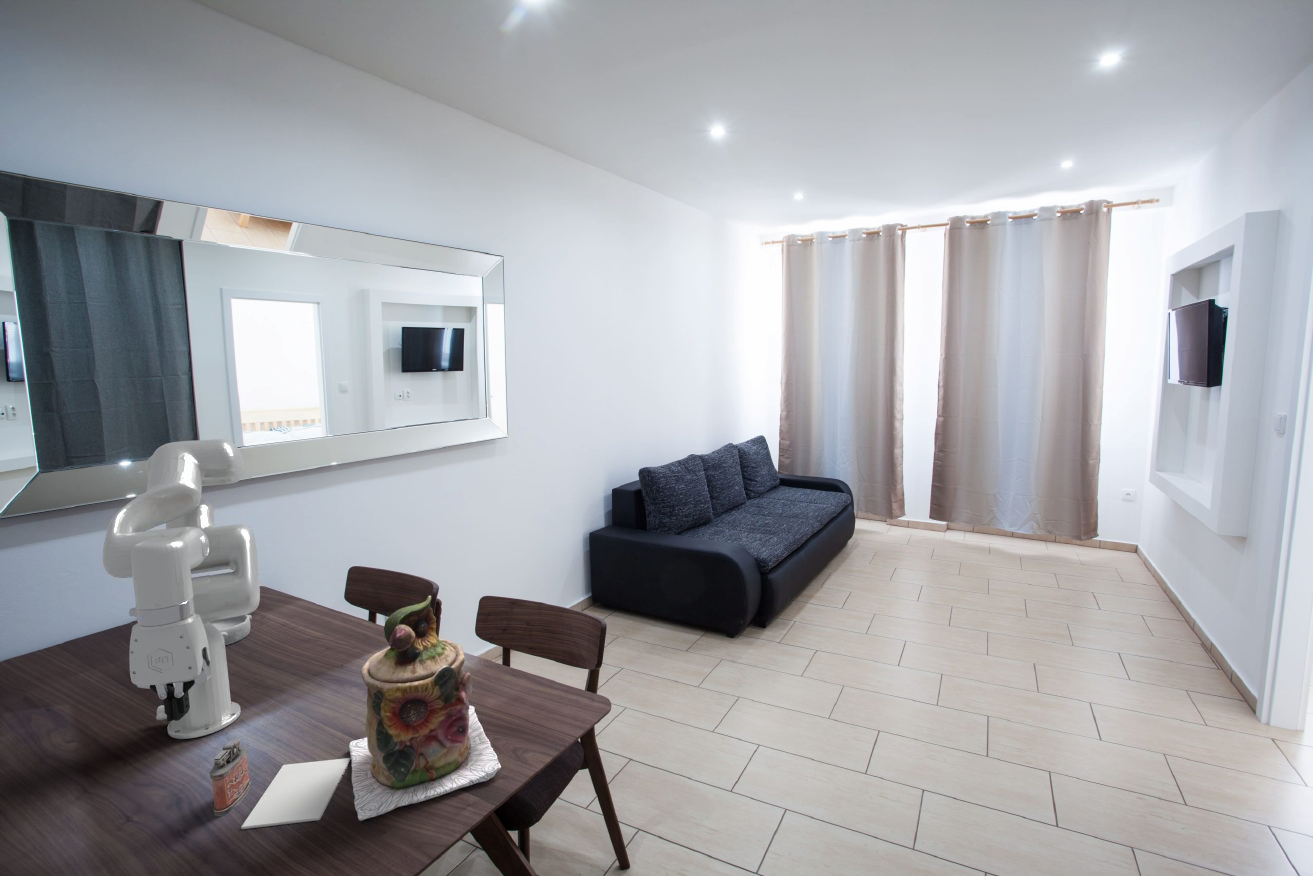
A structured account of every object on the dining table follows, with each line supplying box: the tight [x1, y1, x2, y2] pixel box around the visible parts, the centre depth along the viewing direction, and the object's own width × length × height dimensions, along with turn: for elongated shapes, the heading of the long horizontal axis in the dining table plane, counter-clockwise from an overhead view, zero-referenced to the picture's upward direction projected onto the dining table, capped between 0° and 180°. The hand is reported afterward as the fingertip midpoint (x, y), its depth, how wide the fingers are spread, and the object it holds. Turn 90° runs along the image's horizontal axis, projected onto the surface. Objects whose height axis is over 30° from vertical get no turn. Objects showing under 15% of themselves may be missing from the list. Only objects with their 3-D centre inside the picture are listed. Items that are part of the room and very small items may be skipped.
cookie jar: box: [348, 595, 502, 822], centre depth 117 cm, size 25×25×32 cm
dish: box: [209, 614, 253, 646], centre depth 174 cm, size 14×14×5 cm
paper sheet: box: [240, 757, 352, 830], centre depth 111 cm, size 12×16×1 cm
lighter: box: [209, 738, 252, 817], centre depth 109 cm, size 8×3×10 cm, turn 5°
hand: (178, 716), depth 106 cm, fingers closed
